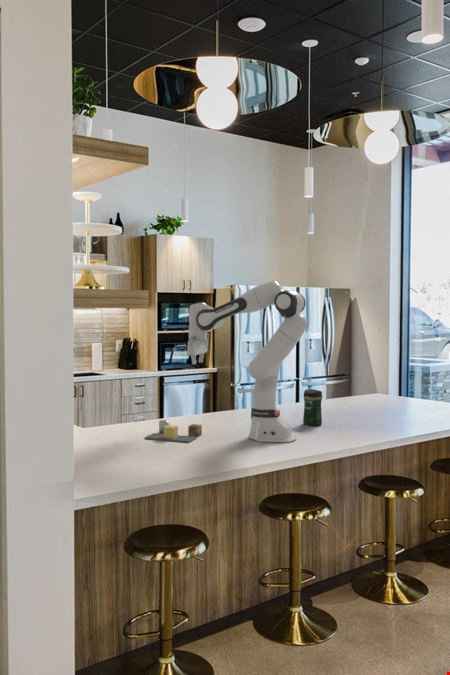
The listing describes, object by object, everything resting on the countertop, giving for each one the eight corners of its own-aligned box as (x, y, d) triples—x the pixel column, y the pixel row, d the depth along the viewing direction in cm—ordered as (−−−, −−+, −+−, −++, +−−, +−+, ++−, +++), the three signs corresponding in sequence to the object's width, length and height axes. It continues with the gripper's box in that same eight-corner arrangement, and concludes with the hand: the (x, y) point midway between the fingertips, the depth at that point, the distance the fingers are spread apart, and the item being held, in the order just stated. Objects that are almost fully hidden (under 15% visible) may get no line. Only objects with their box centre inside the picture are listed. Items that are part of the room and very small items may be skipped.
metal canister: (170, 432, 316) (171, 420, 316) (166, 434, 312) (167, 422, 311) (161, 431, 318) (161, 419, 317) (157, 433, 313) (157, 421, 313)
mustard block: (177, 436, 303) (177, 425, 303) (173, 438, 299) (173, 427, 298) (167, 435, 305) (167, 425, 305) (163, 437, 300) (163, 427, 300)
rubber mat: (196, 438, 303) (196, 436, 303) (188, 442, 294) (188, 441, 294) (153, 434, 310) (153, 433, 310) (144, 439, 300) (144, 437, 300)
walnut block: (201, 435, 311) (201, 424, 311) (198, 437, 307) (198, 426, 306) (191, 434, 313) (192, 424, 313) (188, 436, 308) (188, 426, 308)
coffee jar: (324, 425, 340) (325, 390, 338) (314, 426, 334) (314, 391, 333) (310, 422, 347) (311, 387, 346) (300, 424, 342) (301, 389, 341)
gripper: (196, 336, 308) (196, 365, 309) (210, 334, 327) (210, 361, 328) (184, 336, 310) (184, 365, 310) (198, 334, 329) (198, 361, 330)
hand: (197, 363), depth 319 cm, fingers open, 8 cm apart
